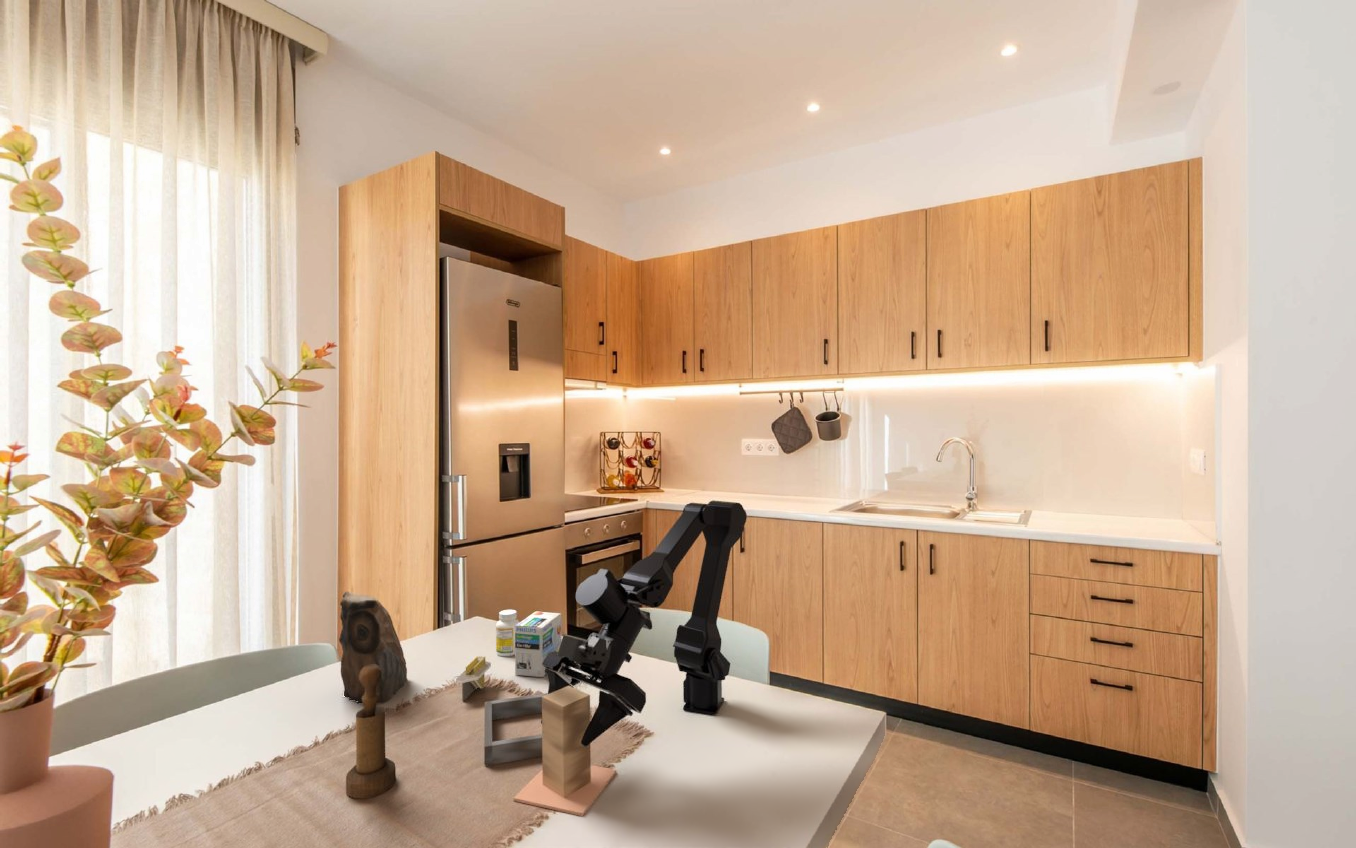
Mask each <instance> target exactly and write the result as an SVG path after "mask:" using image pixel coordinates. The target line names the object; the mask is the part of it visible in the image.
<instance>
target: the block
mask: <svg viewBox="0 0 1356 848" xmlns="http://www.w3.org/2000/svg"><path fill="white" fill-rule="evenodd" d="M571 686H572V685H571ZM571 686H567V687H564V688H562V689H559V690H557V691H555V692H552V693H550V694H548V693H547V695H545V696H542V713H541V715H542V716H541V720H542V724H541V731H542V732H541V734H542V756H541V757H542V769H543V785H544V786H546V787H547V788H549V789H551V790H552V791H554V792H555V793H557V794H558V795H560V796H562V797H563V798H565V797H566V796H568V795H570V794H571V793H573V792H575V791H577V790H578V789H580V788H582V787H583V786H585V785H587V784H589V783H590V782H591V765H592V764H591V761H592V760H591V759H592V758H591V743H590V744H589V745H588V746H584V745H582V744H581V740H582V738H583V736H584V733H585V731H586V729H587V727H588V725H589V723H590V721H591V695H590V694H589V693H587V692H584V691H581V690H580V689H577V688H575V687H574V686H572V687H571ZM573 687H574V688H573Z"/></svg>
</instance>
